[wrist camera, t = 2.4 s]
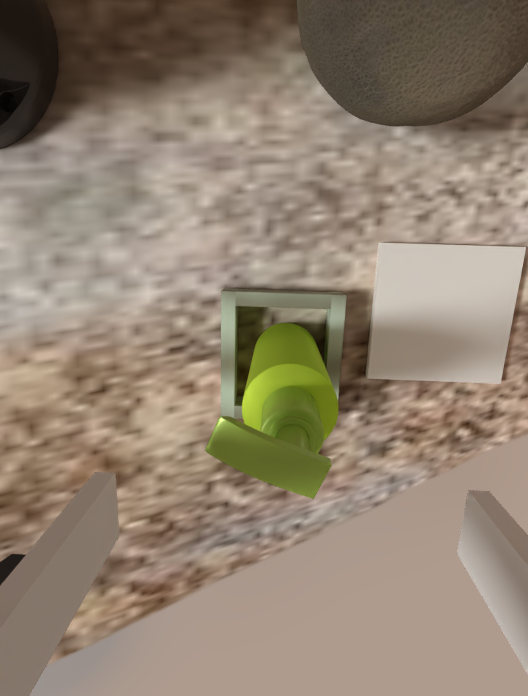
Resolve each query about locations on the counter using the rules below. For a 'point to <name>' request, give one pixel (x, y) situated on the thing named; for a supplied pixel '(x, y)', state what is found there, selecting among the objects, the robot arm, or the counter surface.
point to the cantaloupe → (413, 54)
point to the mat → (442, 311)
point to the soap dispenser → (281, 414)
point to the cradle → (283, 299)
